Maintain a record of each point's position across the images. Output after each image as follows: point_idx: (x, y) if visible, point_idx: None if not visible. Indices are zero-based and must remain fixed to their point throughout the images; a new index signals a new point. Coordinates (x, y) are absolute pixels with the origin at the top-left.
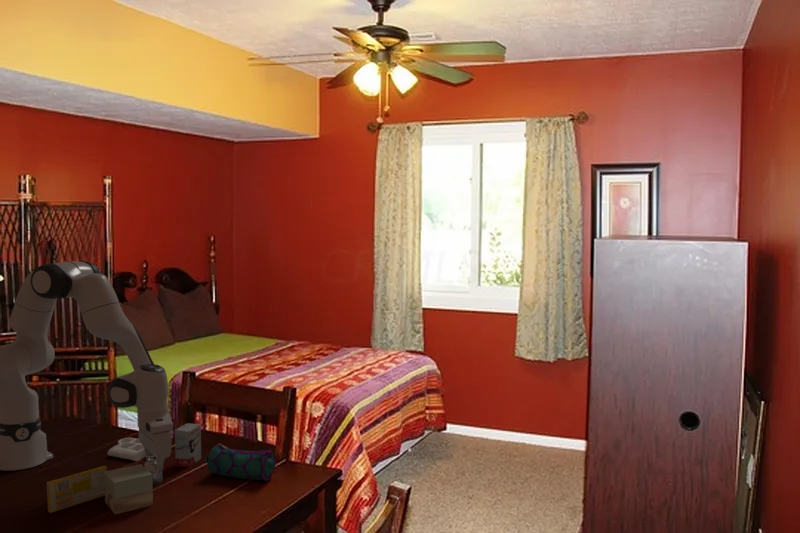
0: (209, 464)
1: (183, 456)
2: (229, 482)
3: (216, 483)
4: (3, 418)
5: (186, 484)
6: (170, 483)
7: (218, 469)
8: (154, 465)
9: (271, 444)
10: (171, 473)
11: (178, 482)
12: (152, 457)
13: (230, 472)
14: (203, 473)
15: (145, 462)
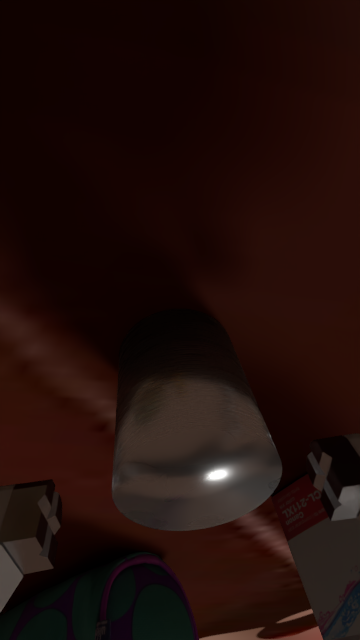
0: (90, 618)
1: (314, 543)
2: None
3: None
4: None
5: (45, 477)
6: (98, 425)
7: (70, 605)
8: (113, 485)
9: (292, 634)
10: None
11: (94, 454)
12: (322, 490)
13: (18, 624)
14: None
15: (242, 437)
